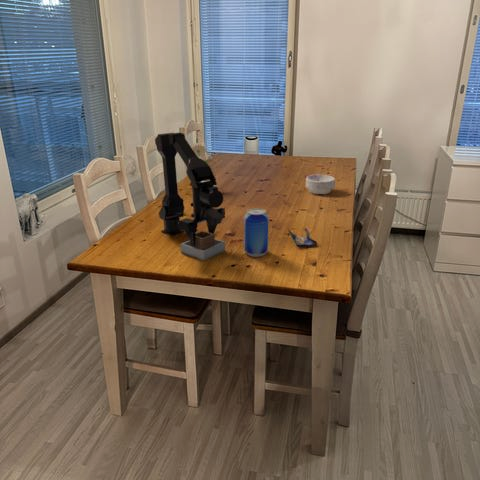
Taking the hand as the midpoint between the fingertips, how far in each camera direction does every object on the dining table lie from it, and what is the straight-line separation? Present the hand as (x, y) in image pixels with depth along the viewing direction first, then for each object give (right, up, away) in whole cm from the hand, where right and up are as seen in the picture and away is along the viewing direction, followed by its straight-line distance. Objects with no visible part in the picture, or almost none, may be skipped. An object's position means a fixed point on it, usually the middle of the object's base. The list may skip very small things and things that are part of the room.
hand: (202, 241), depth 158 cm
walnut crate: (0, -3, +1) cm, 3 cm away
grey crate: (0, -4, +2) cm, 4 cm away
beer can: (+19, -4, 0) cm, 20 cm away
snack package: (+37, -1, +9) cm, 38 cm away
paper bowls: (+56, +26, +73) cm, 95 cm away
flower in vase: (-6, +27, +76) cm, 81 cm away
